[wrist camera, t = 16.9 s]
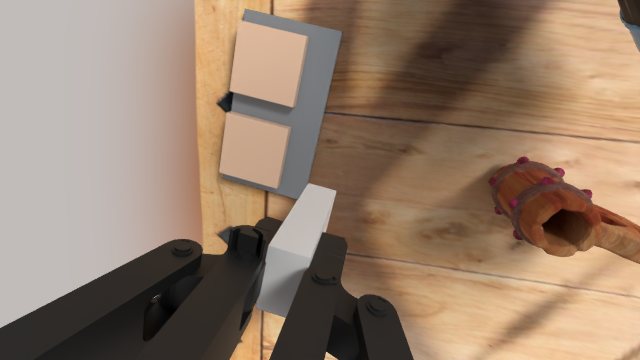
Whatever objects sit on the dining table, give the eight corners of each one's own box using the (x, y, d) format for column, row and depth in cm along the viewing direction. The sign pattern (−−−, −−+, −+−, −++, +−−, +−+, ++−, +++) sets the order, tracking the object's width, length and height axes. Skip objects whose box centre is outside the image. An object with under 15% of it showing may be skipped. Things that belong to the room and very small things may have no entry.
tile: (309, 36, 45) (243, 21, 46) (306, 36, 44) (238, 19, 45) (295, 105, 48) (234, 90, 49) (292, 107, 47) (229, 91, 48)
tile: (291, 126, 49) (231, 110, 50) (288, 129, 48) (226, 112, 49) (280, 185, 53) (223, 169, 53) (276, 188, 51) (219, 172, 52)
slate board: (248, 9, 47) (244, 8, 46) (343, 32, 45) (341, 31, 44) (225, 175, 55) (222, 178, 54) (305, 198, 54) (303, 201, 53)
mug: (471, 199, 49) (505, 254, 35) (496, 144, 47) (543, 181, 33) (576, 231, 48) (654, 301, 34) (609, 178, 45) (708, 230, 31)
